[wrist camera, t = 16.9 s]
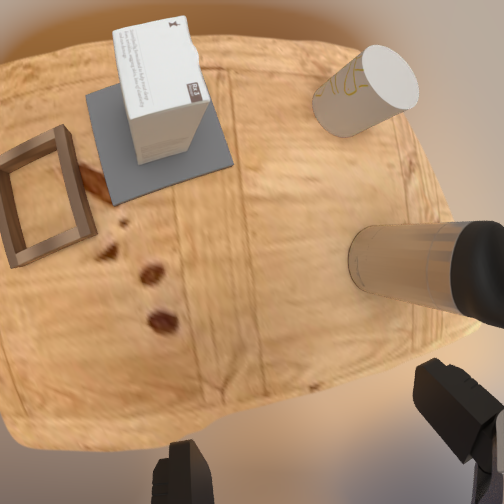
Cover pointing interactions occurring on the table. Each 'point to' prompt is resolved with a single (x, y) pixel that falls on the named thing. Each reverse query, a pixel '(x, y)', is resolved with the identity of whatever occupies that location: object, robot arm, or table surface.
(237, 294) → the table surface
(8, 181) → the walnut collar
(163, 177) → the charcoal mat
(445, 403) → the robot arm
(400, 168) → the table surface
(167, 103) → the skincare box
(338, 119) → the grey patterned cylinder
